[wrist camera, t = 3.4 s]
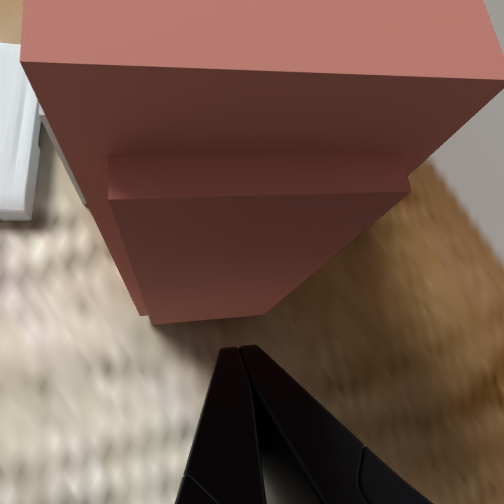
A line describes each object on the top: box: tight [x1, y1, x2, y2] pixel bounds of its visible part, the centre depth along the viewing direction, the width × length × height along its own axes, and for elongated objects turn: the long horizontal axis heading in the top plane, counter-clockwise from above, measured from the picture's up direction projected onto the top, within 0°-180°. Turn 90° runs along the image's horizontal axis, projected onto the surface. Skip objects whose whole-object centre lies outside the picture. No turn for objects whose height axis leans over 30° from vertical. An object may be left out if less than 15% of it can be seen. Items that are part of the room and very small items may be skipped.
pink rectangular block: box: [20, 0, 504, 325], centre depth 11 cm, size 7×5×13 cm
